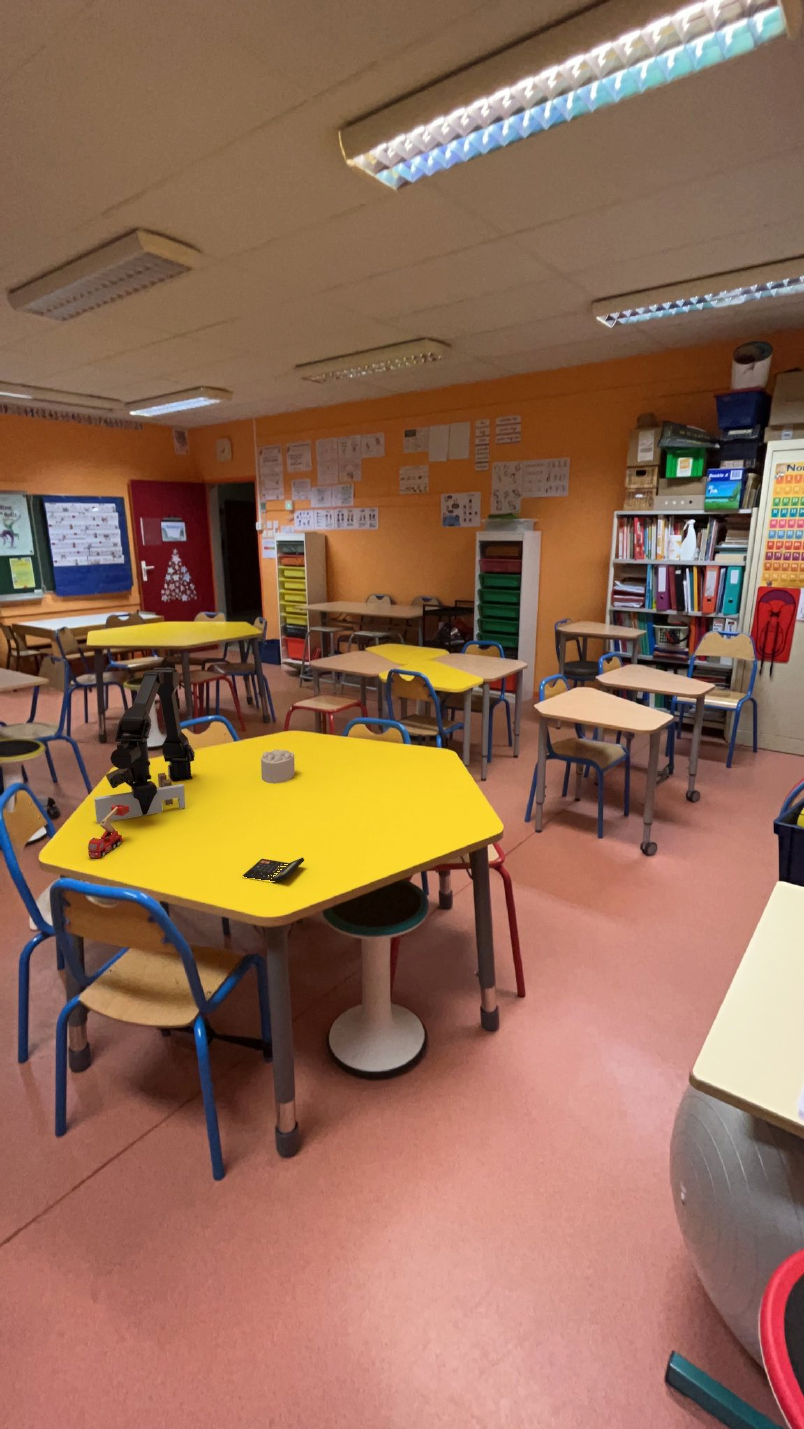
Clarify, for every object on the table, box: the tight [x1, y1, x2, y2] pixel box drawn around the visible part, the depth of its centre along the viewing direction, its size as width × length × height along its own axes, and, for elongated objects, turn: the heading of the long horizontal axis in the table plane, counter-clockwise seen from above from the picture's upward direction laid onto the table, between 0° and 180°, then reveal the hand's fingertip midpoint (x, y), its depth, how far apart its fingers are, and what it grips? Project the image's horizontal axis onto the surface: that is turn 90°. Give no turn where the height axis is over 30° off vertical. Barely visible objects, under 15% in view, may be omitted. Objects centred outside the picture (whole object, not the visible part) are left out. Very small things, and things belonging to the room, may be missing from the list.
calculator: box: [241, 857, 305, 882], centre depth 156 cm, size 9×12×3 cm
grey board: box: [93, 783, 186, 824], centre depth 188 cm, size 24×2×7 cm, turn 121°
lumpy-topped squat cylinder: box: [260, 749, 296, 784], centre depth 222 cm, size 10×13×9 cm
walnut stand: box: [157, 772, 174, 806], centre depth 200 cm, size 10×2×7 cm, turn 31°
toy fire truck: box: [87, 805, 129, 859], centre depth 166 cm, size 3×14×10 cm, turn 168°
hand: (141, 809), depth 188 cm, fingers open, 9 cm apart
